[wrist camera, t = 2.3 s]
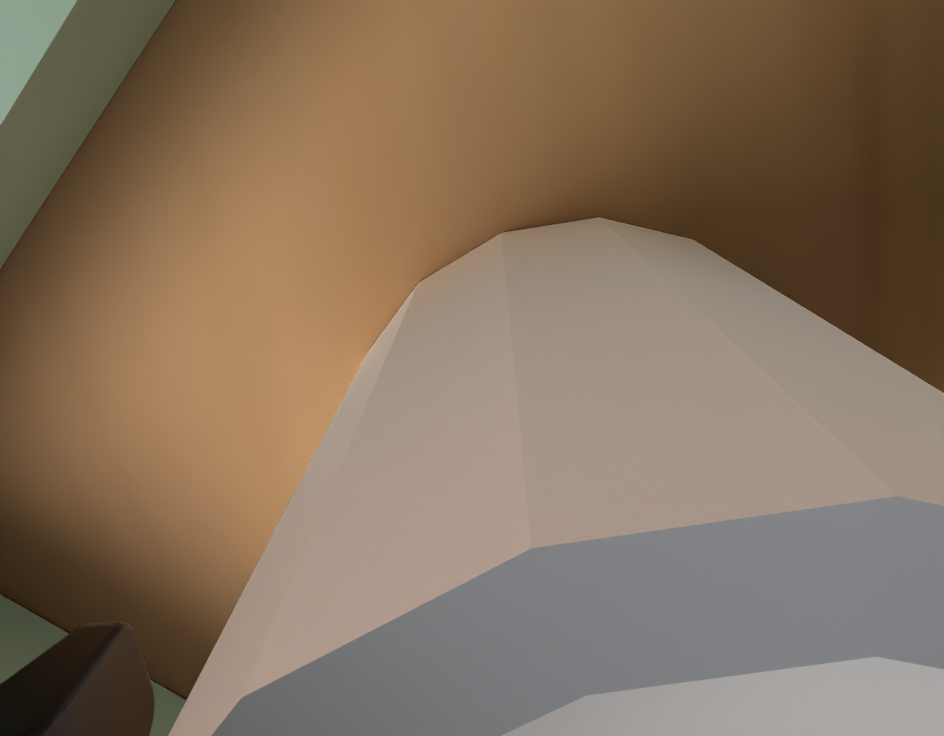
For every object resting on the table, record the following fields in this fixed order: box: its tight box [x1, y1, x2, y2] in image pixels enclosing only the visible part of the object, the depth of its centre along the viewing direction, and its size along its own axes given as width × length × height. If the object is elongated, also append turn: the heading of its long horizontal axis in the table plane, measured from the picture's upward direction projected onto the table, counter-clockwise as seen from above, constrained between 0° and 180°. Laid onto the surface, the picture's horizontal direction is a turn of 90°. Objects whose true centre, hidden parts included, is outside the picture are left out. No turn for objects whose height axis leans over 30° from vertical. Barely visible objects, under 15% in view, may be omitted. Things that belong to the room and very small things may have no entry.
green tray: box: [0, 0, 186, 736], centre depth 10 cm, size 15×15×2 cm
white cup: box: [168, 217, 944, 736], centre depth 8 cm, size 7×7×7 cm
